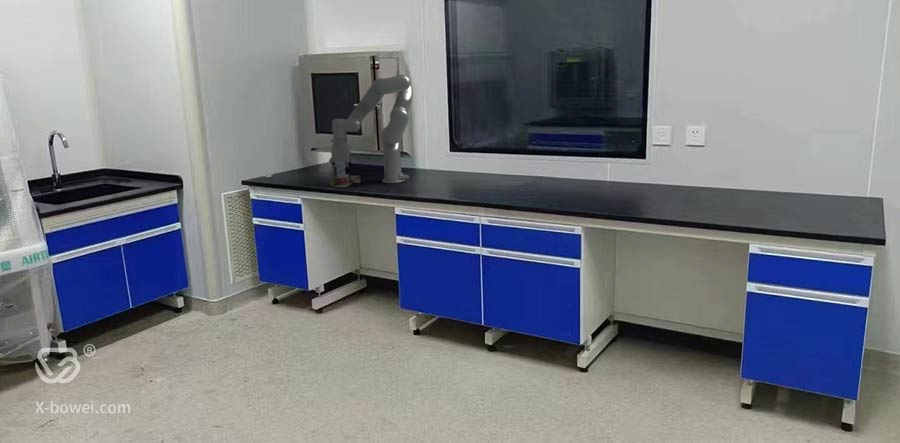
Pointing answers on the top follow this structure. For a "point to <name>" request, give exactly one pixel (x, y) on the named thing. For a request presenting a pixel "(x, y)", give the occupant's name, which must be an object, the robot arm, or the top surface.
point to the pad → (343, 184)
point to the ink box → (341, 172)
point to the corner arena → (351, 180)
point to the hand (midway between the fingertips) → (342, 173)
